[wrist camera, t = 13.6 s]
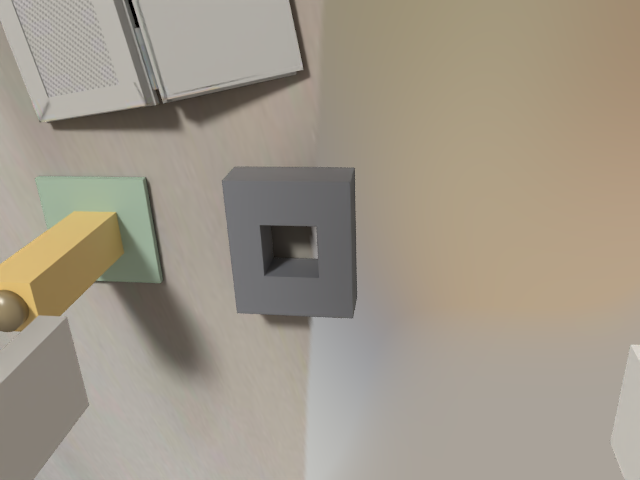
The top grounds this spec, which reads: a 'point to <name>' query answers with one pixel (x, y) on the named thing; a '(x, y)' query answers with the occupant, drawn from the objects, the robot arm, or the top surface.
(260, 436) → the top surface
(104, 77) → the gadget
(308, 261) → the grey block with hole
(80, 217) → the plug
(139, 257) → the mat
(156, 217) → the top surface
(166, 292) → the top surface
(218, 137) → the top surface
